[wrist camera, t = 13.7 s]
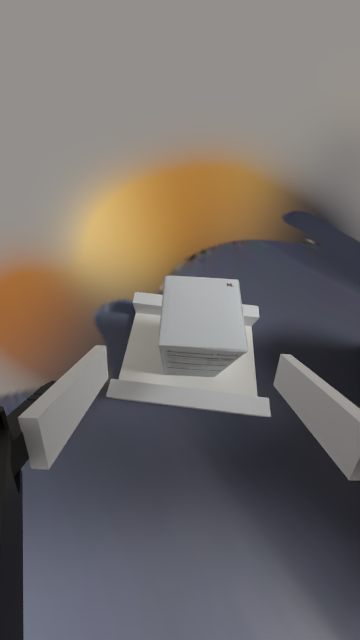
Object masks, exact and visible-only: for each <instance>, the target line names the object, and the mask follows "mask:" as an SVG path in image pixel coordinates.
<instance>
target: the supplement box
mask: <svg viewBox="0 0 360 640" xmlns="http://www.w3.org/2000/svg"><path fill="white" fill-rule="evenodd" d="M158 345H159V350H160V355H161V361H162V366H163V371H164V375H178V376H200V377H215V376H217V375H218V374H219V373H221V372H222V371H223V370H224V369H226V368H227V367H228V366H230V365H231V364H232V363H233V362H235V361H236V360H237V359H238V358H240V357H241V356H242V355H244V354H245V353H247V352H248V342H247V336H246V329H245V323H244V315H243V308H242V302H241V295H240V288H239V281H238V280H232V279H219V278H201V277H184V276H165V281H164V289H163V298H162V307H161V317H160V328H159V342H158Z"/></svg>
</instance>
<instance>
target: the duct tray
mask: <svg viewBox="0 0 360 640" xmlns="http://www.w3.org/2000/svg"><path fill="white" fill-rule="evenodd" d="M162 298H163V295H158V294H149V293H141V292H135V295H134V299H133V302H132V303H133V306H134V309H135V311H136V314H135V318H134V322H133V326H132V330H131V333H130V337H129V341H128V345H127V349H126V352H125V356H124V360H123V364H122V368H121V371H120V375H119V379H111V380H110V384H109V387H108V391H107V395H106V397H110V398H113V399H119V400H127V401H135V402H143V403H151V404H159V405H167V406H176V407H184V408H192V409H200V410H208V411H216V412H224V413H232V414H240V415H248V416H256V417H271V414H270V405H269V398H265V397H258V396H257V385H256V374H255V362H254V351H253V339H252V328H251V326H252V325H253V324H254V323H255V322H256V321H257V320H258V319H259V309H258V306H252V305H243V304H242V308H243V315H244V323H245V329H246V336H247V342H248V352H247V353H245V354H244V355H242V356H241V357H240V358H238V359H237V360H236V361H235V362H233V363H232V364H231V365H230V366H228V367H227V368H226V369H224V370H223V371H222V372H221V373H219V374H218V375H217V376H215V377H200V376H178V375H164V371H163V366H162V361H161V355H160V350H159V345H158V342H159V328H160V317H161V307H162Z"/></svg>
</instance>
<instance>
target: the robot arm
mask: <svg viewBox="0 0 360 640" xmlns="http://www.w3.org/2000/svg"><path fill="white" fill-rule="evenodd" d="M107 379H108V365H107V351H106V346H103V345H96V346H94V347H93V348H92V349H91V350H90V351H89V352H88V353H87V354H86V355H85V356H84V357H83V358H81V359H80V360H79V361H78V362H77V363H76V364H75V365H74V366H73V367H72V368H71V369H70V370H68V371H67V372H66V373H65V374H64V375H63V376H62V377H61V378H60V379H59V380H58V381H51V382H49V383H47V384H45V385H44V386H42V387H41V388H39V389H38V390H37V391H36V392H35V393H34V394H33V395H31V396H30V397H29V398H28V399H27V401H24V402H23V403H22V404H21V405H20V406H18V407H17V408H16V409H15V410H14V411H13V412H12V413H10V414H9V415H8V416H7V417H6V414H5V411H4V408H3V407H1V406H0V640H23V514H22V471H21V468H22V467H23V465H24V464H25V463H26V461H27V460H28V459H29V463H30V467H31V469H48V470H49V469H50V467H51V466H52V464H53V463H54V461H55V460H56V458H57V457H58V455H59V453H60V452H61V450H62V449H63V447H64V446H65V444H66V443H67V441H68V440H69V438H70V436H71V435H72V433H73V432H74V430H75V429H76V427H77V426H78V424H79V422H80V421H81V419H82V418H83V416H84V415H85V413H86V412H87V410H88V409H89V407H90V405H91V404H92V402H93V401H94V399H95V398H96V396H97V395H98V393H99V392H100V390H101V388H102V387H103V385H104V384H105V382H106V381H107ZM273 385H274V387H275V388H276V389H277V390H278V392H279V393H280V394H281V395H282V397H283V398H284V399H285V400H286V402H287V403H288V404H289V405H290V407H291V408H292V409H293V411H294V412H295V413H296V414H297V416H298V417H299V418H300V419H301V421H302V422H303V423H304V424H305V426H306V427H307V428H308V429H309V431H310V432H311V433H312V434H313V436H314V437H315V438H316V439H317V441H318V442H319V443H320V445H321V446H322V447H323V448H324V450H325V451H326V452H327V453H328V455H329V456H330V457H331V458H332V460H333V461H334V462H335V463H336V465H337V466H338V467H339V468H340V470H341V471H342V472H343V473H344V475H345V476H346V477H347V479H348V480H353V481H360V405H358V404H357V403H356V402H354V401H353V400H352V399H350V398H348V397H346V396H345V395H343V394H341V393H339V392H338V391H337V390H335V389H334V388H333V387H331V386H330V385H329V384H328V383H326V382H325V381H324V380H323V379H321V378H320V377H319V376H317V375H316V374H315V373H314V372H312V371H311V370H310V369H309V368H307V367H306V366H305V365H303V364H302V363H301V362H300V361H298V360H297V359H296V358H295V357H293V356H292V355H291V354H280V359H279V363H278V367H277V371H276V376H275V380H274V384H273Z"/></svg>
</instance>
